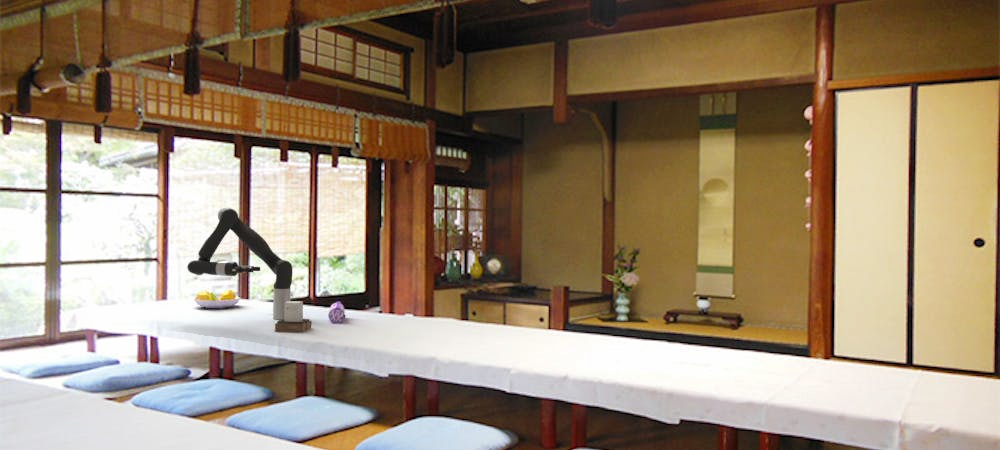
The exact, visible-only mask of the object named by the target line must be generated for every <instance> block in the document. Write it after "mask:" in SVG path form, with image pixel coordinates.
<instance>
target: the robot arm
mask: <svg viewBox="0 0 1000 450" xmlns="http://www.w3.org/2000/svg"><path fill="white" fill-rule="evenodd" d="M217 219H218V224H217V225H216V227H215V228H214V230H213V231H212V232H211V234H210V235H209V236H208V237H207V238H206V240H204V242H203V244H202V246H201V247H200V249H199V251H198V253H197V254H198V256H199V257H198V259H196V260H191V261H190V262H189V263H188V264H187V271H188V272H189V273H191V274H193V275H196V276H202V275H204V274H205V275H210V276H224V277H225V276H226V277H235V276H237V274H245V273H254V272H260V271H261V267H260V266H254V265H243V264H241V265H239V264H238V263H237V262H235V261H211V259H212V257H213V256H214V254H215V252H216V251H217V249H218V247H219V246H220V244H221V243H222V241H223V240H224V238H225V236H226V235H227V234H228V232H229V231H232V232H233V233H234V234H235V235H236V237H238V239H239V240H240V242H242V243H243V244H244V245H245V247H246V248H248V249H249V250H250V251H251V252H252V253H253V254H254V255H256V256H257V258H259V259H260V260H262V261H263V262H264V264H266V266H267V267H268V268H269V269H270V270H271V272H272V273H273V274H274V275H276V276H275V281H274V283H273V294H272V295H273V302H272V305H273V307H272V312H273V313H272V316H273V317H272V319H273V320H282V319H284V307H285V302H288V301H291V285H292V283H293V265H292V263H291V262H290V261H288V260H283V259H282V258H280V256H278V255H277V254H275V252H273V250H272V249H271V247H270V246H269V244H268V242H267V241H266V240H265V239H264V238H263V237H262V236H261V235H260V234H259V233H258V232H257V231H255V229H252V228H251V227H250V226H248V225H247V224H246V223H244V221H242V220H241V218H240V217H239V214H238V212H237V211H236V210H235V209H233V208H230V207H223V208H221V209H219V211H218V213H217Z"/></svg>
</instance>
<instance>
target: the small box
mask: <svg viewBox="0 0 1000 450" xmlns="http://www.w3.org/2000/svg"><path fill="white" fill-rule="evenodd" d="M303 309H304V301H297V300H295V301H294V300H293V301H292V300H290V301H288V302H285V307H284V321H289V322H302V321H303V319H304V317H303V316H304V310H303Z"/></svg>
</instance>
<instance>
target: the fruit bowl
mask: <svg viewBox="0 0 1000 450" xmlns="http://www.w3.org/2000/svg"><path fill="white" fill-rule="evenodd" d="M240 299H241V296H240V297H239V296H236V293H235V292H234V291H233V290H232V289H230V290H224V291H223V292H222V293H221V294H220V295H216V294H214V293H213V291H211V292H209V291H207V290H201V291H199V292H198V293H197V294H196V296H195V297H194V298H193V300H194V301H195V303H196V304H197V305H198V306H200V307H202V308H204V307H206V308H205V309H210V308H221V309H226V308H225V307H228V308H231V307H232V306H233V307H234V306H235V305H237V304H238V303H239V301H240Z"/></svg>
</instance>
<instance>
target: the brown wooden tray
mask: <svg viewBox="0 0 1000 450" xmlns="http://www.w3.org/2000/svg"><path fill="white" fill-rule="evenodd" d="M274 325H275V326H274V333H299V332H302V333H304V332H307V331H309V330H310V329H312V320H310V318H303V321H302V322H289V321H284V319H279V321H277V322H276V323H274Z"/></svg>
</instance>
